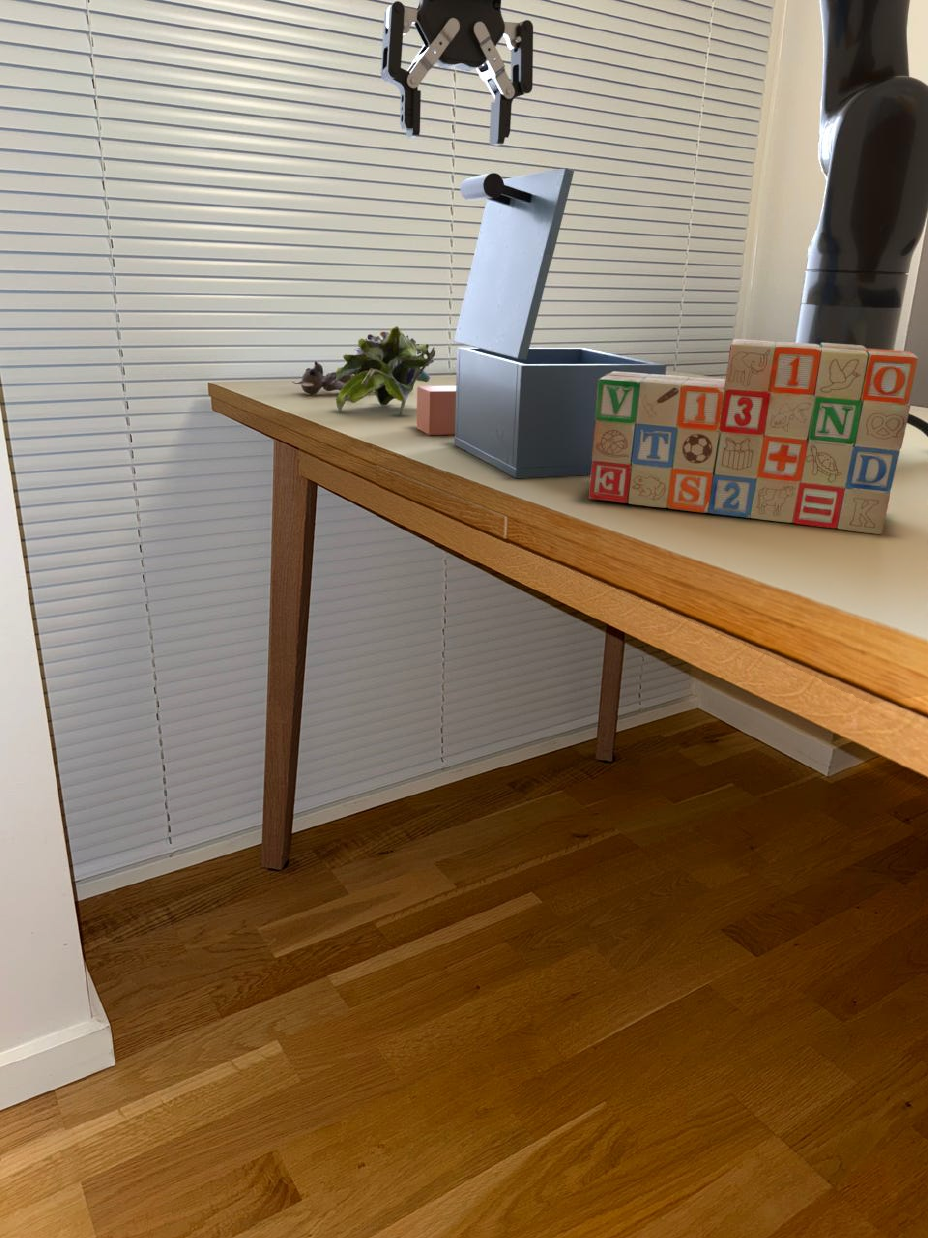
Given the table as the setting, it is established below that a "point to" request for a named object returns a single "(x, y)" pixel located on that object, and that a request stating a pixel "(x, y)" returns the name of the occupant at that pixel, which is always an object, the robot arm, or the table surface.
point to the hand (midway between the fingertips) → (455, 140)
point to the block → (436, 409)
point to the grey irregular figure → (321, 380)
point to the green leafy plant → (384, 368)
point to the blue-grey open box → (534, 407)
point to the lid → (511, 258)
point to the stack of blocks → (760, 435)
